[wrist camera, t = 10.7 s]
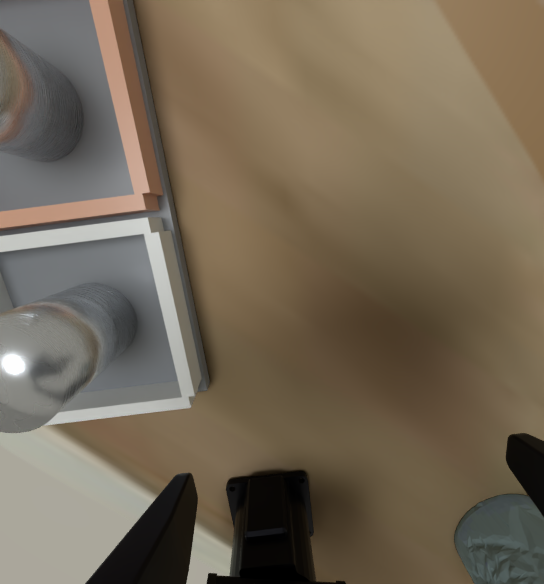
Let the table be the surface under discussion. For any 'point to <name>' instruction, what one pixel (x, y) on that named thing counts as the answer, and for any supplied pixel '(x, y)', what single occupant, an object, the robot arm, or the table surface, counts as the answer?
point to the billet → (58, 350)
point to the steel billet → (36, 105)
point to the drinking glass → (502, 541)
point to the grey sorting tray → (103, 209)
